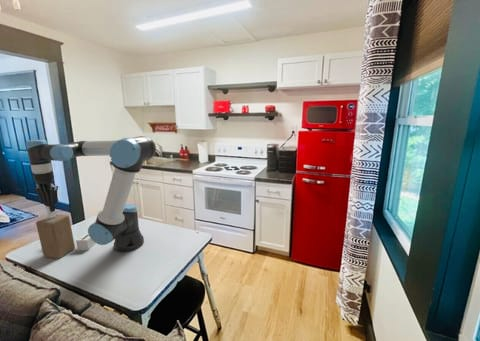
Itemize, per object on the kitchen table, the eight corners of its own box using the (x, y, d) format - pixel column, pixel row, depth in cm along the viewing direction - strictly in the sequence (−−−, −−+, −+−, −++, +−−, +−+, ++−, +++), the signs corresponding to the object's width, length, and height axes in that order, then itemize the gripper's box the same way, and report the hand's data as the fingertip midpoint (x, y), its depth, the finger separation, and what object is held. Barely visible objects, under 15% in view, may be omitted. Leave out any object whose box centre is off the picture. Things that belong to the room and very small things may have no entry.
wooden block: (58, 259, 116) (51, 223, 111) (42, 257, 118) (34, 221, 113) (76, 248, 125) (69, 214, 121) (61, 246, 127) (54, 213, 123)
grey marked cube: (95, 244, 130) (94, 234, 128) (89, 250, 124) (87, 239, 123) (85, 244, 130) (83, 234, 128) (77, 250, 124) (75, 240, 123)
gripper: (60, 170, 113) (69, 215, 119) (40, 169, 117) (50, 212, 122) (44, 174, 106) (54, 221, 112) (24, 173, 110) (34, 218, 115)
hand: (52, 217), depth 117 cm, fingers closed
